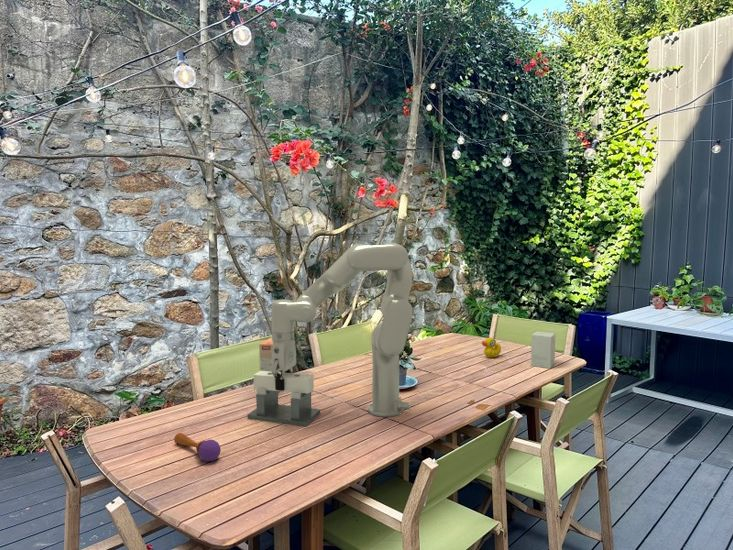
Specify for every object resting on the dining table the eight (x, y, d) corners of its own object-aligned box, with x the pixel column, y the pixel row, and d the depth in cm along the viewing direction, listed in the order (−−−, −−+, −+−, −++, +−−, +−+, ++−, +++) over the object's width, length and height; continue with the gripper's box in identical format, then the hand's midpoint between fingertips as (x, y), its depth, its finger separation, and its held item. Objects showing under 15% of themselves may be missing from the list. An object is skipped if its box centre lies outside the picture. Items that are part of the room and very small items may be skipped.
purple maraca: (188, 427, 162) (225, 440, 149) (187, 446, 162) (223, 462, 149) (171, 429, 158) (207, 443, 145) (169, 449, 157) (205, 465, 144)
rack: (320, 413, 183) (320, 384, 182) (306, 426, 172) (305, 396, 171) (264, 406, 190) (264, 378, 189) (247, 418, 179) (246, 389, 178)
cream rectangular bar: (313, 388, 180) (313, 374, 179) (308, 393, 175) (308, 378, 175) (260, 384, 185) (260, 370, 184) (254, 388, 180) (253, 374, 179)
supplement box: (554, 364, 245) (556, 333, 243) (550, 368, 237) (551, 336, 235) (535, 361, 250) (536, 330, 248) (530, 365, 242) (531, 334, 240)
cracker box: (274, 397, 199) (273, 344, 197) (259, 396, 201) (258, 343, 198) (286, 386, 213) (286, 336, 211) (273, 385, 214) (272, 335, 212)
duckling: (485, 360, 251) (486, 340, 250) (478, 357, 256) (478, 337, 255) (503, 357, 257) (504, 337, 255) (495, 354, 261) (496, 335, 260)
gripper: (281, 342, 169) (282, 396, 171) (303, 331, 185) (304, 381, 187) (260, 340, 171) (261, 394, 173) (284, 330, 187) (285, 379, 189)
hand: (283, 386), depth 180 cm, fingers closed on cream rectangular bar, 5 cm apart
